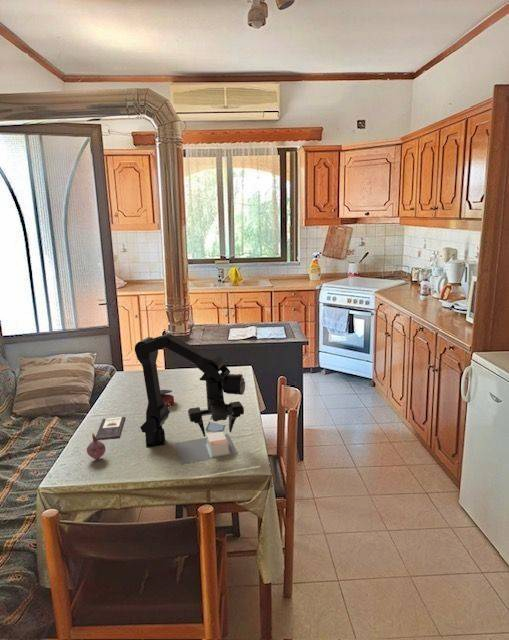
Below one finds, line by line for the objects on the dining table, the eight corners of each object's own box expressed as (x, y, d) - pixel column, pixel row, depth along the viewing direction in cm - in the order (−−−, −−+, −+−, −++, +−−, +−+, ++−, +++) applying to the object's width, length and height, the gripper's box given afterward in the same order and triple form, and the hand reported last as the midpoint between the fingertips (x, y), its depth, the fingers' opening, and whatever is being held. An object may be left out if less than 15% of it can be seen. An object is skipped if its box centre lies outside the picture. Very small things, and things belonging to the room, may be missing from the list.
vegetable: (90, 455, 165) (87, 429, 163) (108, 454, 165) (105, 428, 163) (85, 464, 159) (82, 437, 157) (104, 463, 159) (101, 436, 157)
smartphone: (229, 415, 193) (223, 431, 178) (229, 417, 193) (223, 433, 178) (211, 415, 194) (204, 430, 179) (211, 417, 194) (204, 433, 179)
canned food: (153, 418, 205) (141, 399, 203) (163, 406, 214) (151, 388, 212) (173, 408, 201) (161, 390, 199) (182, 397, 210) (170, 379, 208)
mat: (180, 465, 156) (180, 464, 156) (175, 443, 171) (174, 442, 171) (238, 455, 161) (238, 453, 161) (228, 435, 176) (228, 433, 176)
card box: (207, 444, 169) (206, 433, 168) (223, 441, 170) (222, 431, 169) (211, 456, 160) (210, 445, 159) (228, 453, 162) (228, 442, 161)
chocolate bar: (94, 438, 176) (102, 418, 194) (95, 441, 176) (103, 420, 194) (119, 436, 177) (125, 416, 195) (119, 438, 178) (125, 418, 195)
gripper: (191, 404, 150) (194, 449, 154) (247, 396, 155) (249, 439, 159) (186, 392, 161) (189, 434, 164) (239, 385, 166) (241, 426, 169)
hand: (217, 434), depth 164 cm, fingers open, 9 cm apart
